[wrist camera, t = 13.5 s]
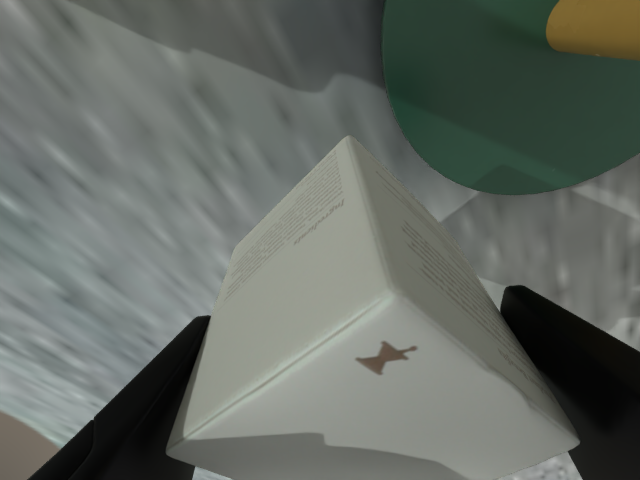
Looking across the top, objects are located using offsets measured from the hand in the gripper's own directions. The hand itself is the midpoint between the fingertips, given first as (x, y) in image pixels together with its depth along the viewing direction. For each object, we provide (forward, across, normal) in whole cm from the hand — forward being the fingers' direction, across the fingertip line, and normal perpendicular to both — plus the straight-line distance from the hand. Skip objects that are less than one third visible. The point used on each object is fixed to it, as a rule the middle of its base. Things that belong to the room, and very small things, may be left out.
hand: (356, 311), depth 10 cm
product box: (+4, 0, 0) cm, 4 cm away
